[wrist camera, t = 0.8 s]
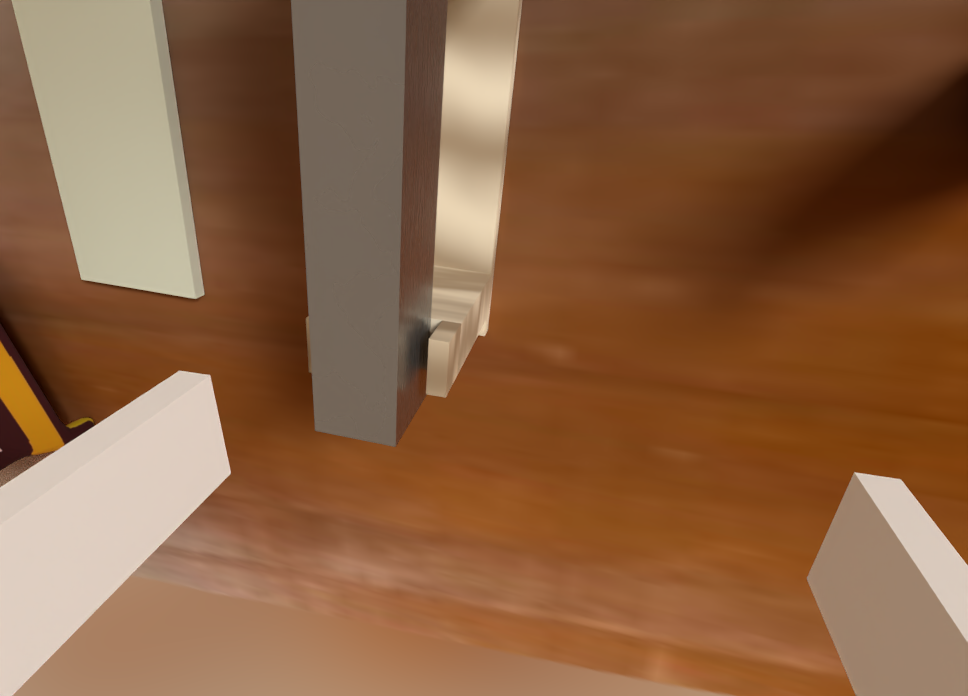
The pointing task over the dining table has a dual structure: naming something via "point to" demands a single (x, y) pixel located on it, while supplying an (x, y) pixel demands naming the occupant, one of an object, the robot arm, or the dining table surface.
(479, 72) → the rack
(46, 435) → the decorative lantern
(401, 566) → the dining table surface
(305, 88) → the rail
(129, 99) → the mat
